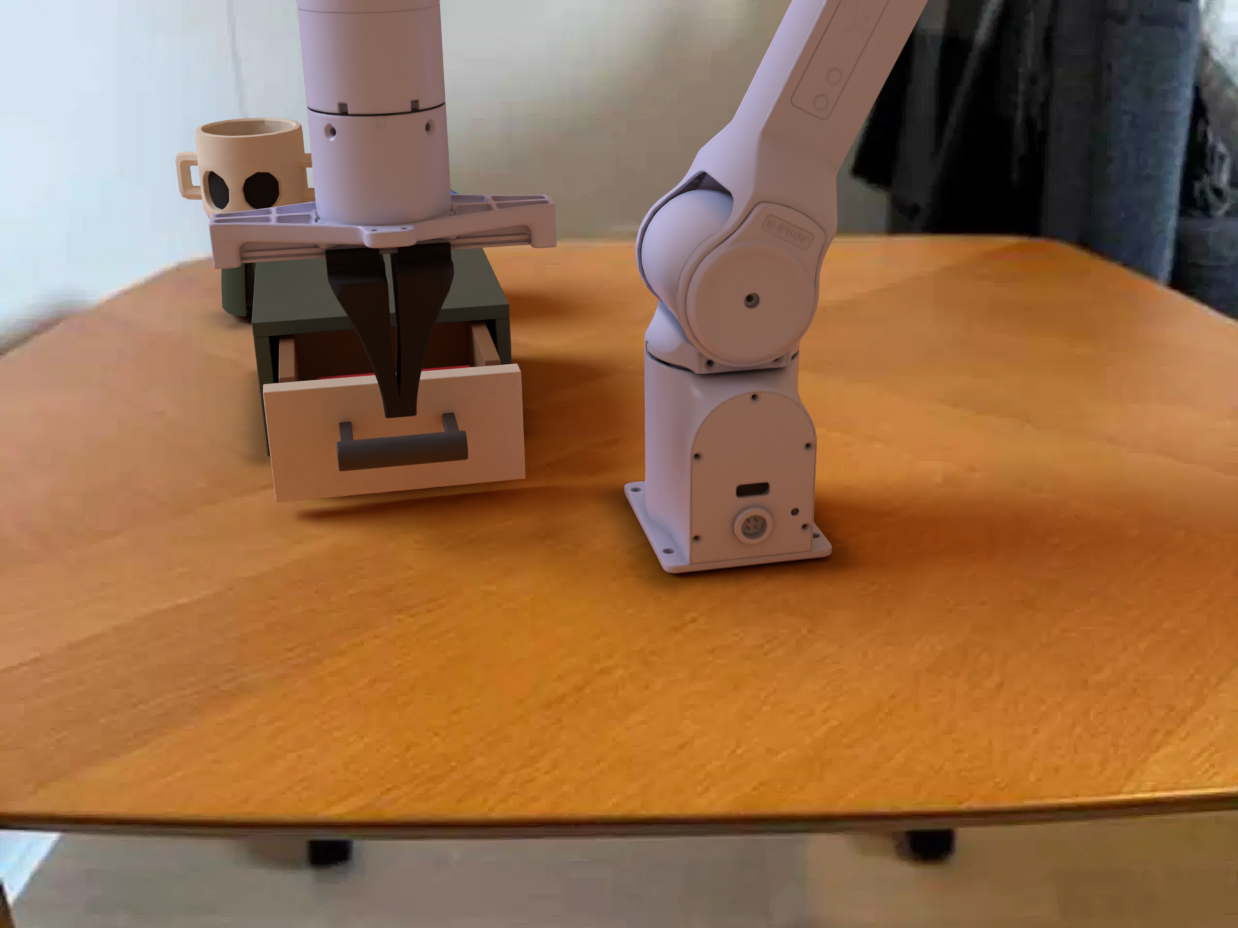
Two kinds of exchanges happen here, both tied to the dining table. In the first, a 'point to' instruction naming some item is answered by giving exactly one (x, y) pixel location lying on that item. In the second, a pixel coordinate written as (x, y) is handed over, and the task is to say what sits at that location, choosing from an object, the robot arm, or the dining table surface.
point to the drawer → (392, 447)
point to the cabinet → (308, 305)
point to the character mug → (246, 181)
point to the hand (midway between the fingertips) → (399, 409)
